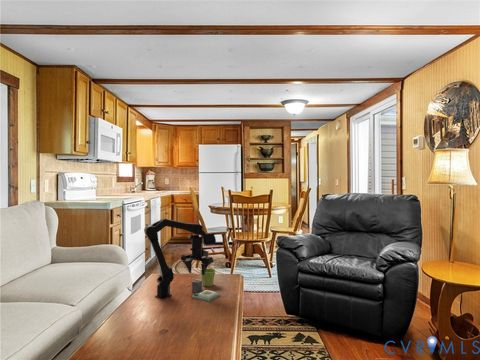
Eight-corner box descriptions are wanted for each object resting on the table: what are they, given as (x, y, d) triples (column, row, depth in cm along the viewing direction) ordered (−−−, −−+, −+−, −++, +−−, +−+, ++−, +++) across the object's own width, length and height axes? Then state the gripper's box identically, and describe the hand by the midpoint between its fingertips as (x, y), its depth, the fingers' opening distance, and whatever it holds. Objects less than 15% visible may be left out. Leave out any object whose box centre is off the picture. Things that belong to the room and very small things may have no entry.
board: (208, 301, 180) (208, 297, 180) (191, 297, 185) (191, 293, 185) (219, 295, 188) (219, 291, 188) (203, 292, 194) (203, 288, 194)
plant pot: (198, 283, 210) (198, 269, 210) (213, 282, 213) (213, 267, 213) (201, 288, 201) (201, 273, 201) (217, 286, 204) (217, 271, 204)
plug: (197, 293, 192) (197, 281, 192) (192, 292, 194) (191, 280, 194) (202, 291, 195) (202, 280, 195) (196, 290, 198) (196, 279, 198)
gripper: (218, 245, 197) (218, 273, 197) (192, 242, 206) (192, 268, 206) (207, 248, 187) (207, 278, 187) (180, 245, 197) (180, 273, 197)
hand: (196, 274), depth 195 cm, fingers open, 9 cm apart
